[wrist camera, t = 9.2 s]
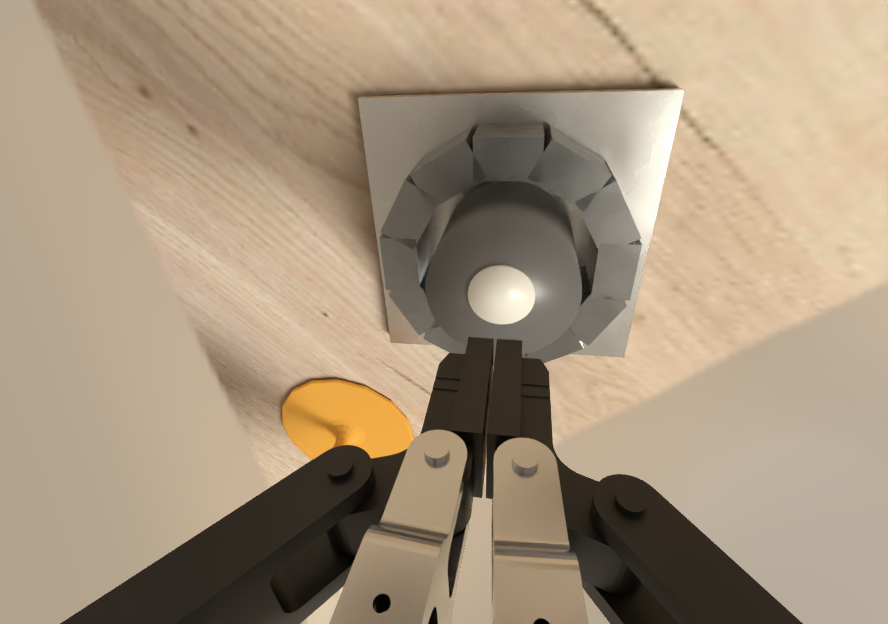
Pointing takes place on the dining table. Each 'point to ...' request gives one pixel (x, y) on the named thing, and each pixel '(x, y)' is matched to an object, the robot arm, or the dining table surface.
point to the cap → (506, 268)
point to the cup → (342, 432)
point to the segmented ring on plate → (531, 161)
